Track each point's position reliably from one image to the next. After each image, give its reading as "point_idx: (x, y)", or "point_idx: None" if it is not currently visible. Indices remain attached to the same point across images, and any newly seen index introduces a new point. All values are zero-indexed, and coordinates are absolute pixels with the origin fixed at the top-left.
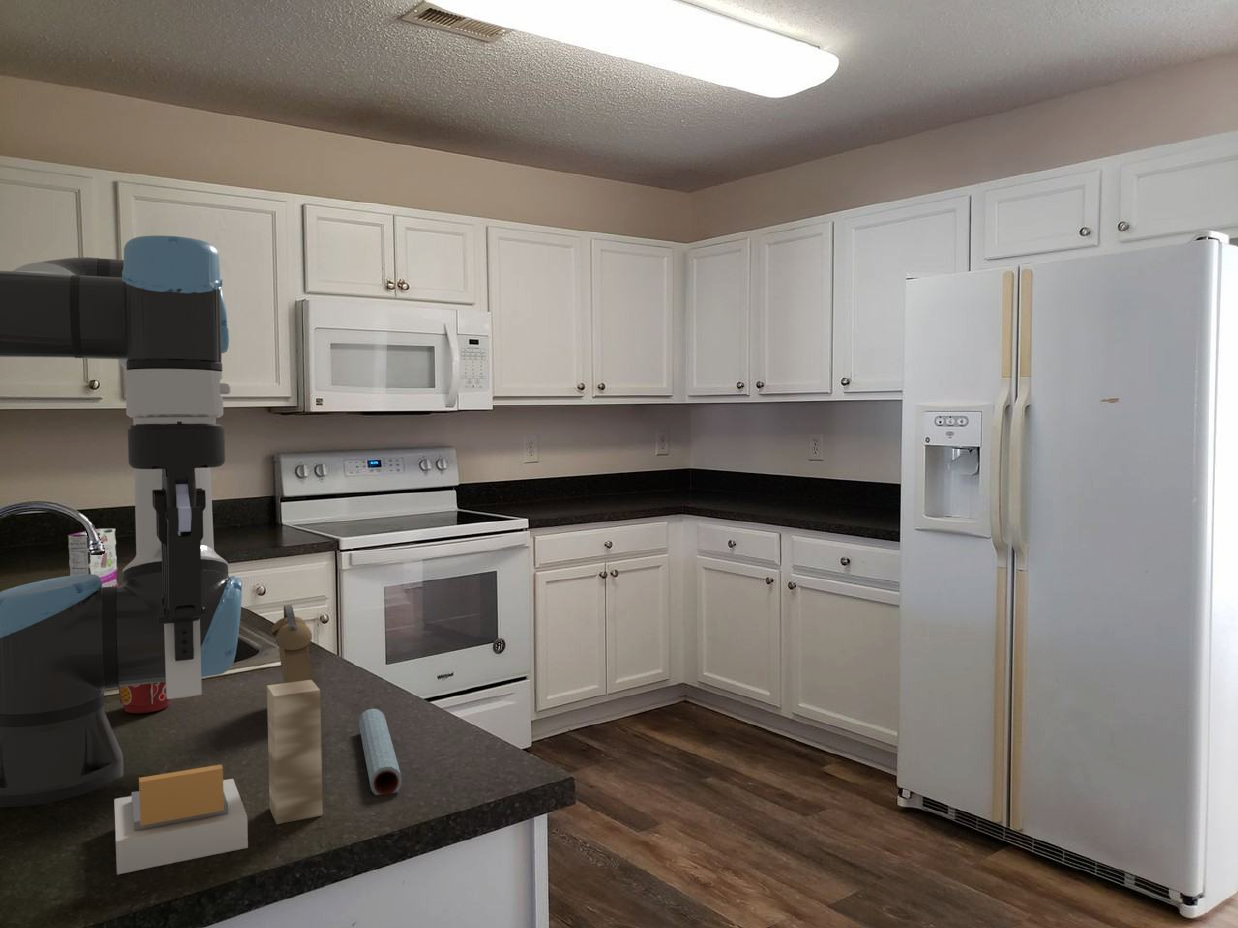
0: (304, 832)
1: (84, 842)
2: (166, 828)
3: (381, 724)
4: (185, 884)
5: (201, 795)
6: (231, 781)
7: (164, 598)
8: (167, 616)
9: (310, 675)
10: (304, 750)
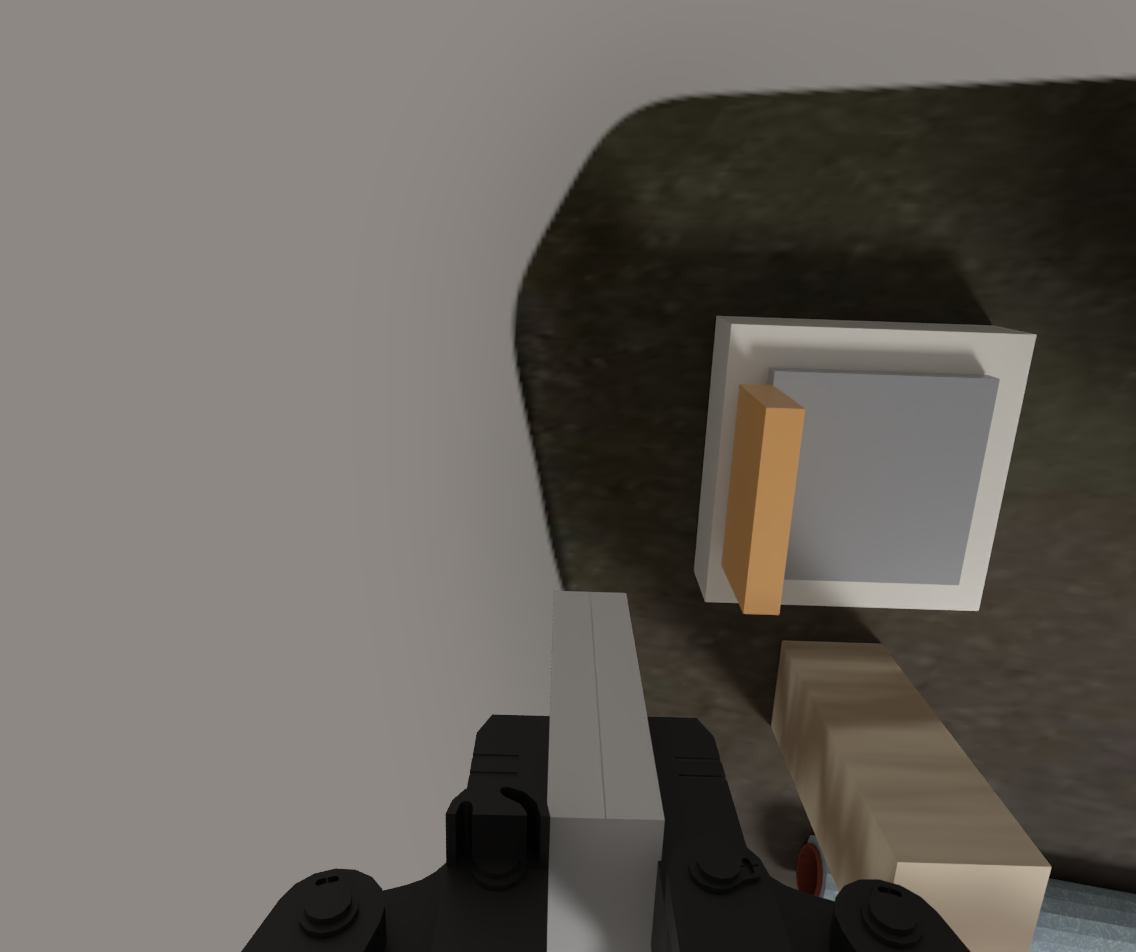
0: (703, 678)
1: (954, 254)
2: None
3: None
4: (585, 439)
5: (734, 536)
6: (960, 604)
7: (853, 944)
8: (475, 869)
9: None
10: (821, 800)
